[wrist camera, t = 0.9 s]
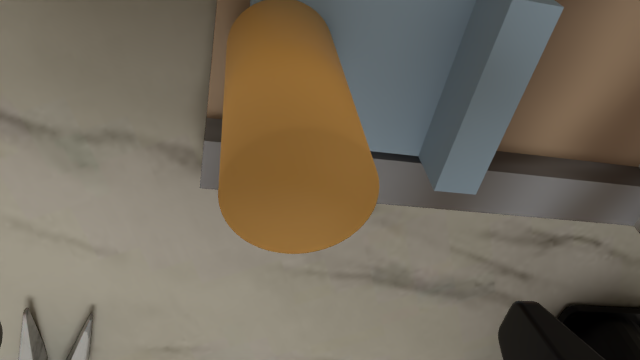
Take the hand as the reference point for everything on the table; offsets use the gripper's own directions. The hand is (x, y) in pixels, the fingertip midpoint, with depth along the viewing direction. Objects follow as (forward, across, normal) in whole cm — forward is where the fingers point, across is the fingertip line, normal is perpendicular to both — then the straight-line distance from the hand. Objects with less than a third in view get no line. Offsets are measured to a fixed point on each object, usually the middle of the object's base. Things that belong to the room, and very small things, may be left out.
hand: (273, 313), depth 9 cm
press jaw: (+11, -3, -1) cm, 11 cm away
